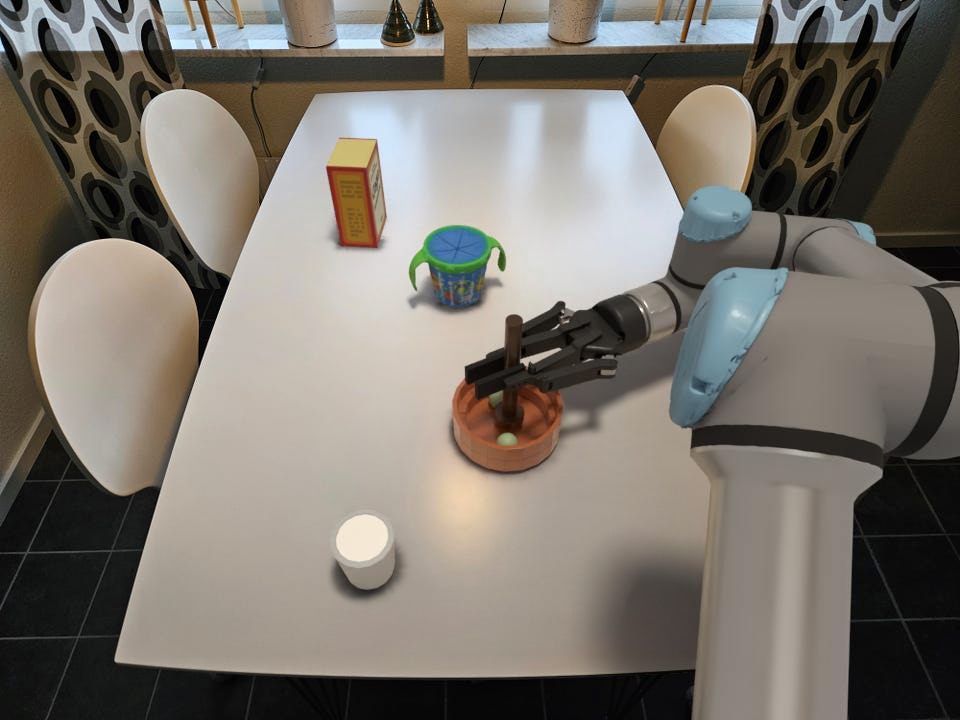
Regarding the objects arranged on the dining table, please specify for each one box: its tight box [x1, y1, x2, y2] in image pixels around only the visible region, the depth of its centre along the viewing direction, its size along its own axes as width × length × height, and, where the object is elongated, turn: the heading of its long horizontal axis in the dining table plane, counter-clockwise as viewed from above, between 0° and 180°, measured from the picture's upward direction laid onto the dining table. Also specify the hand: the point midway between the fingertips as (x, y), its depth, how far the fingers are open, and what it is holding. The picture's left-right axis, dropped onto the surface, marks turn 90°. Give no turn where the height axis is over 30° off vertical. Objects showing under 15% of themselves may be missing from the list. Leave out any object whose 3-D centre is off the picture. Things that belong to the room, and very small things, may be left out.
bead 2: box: [496, 433, 518, 446], centre depth 83 cm, size 3×3×3 cm
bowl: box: [451, 365, 564, 472], centre depth 85 cm, size 14×14×6 cm
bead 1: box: [489, 390, 503, 408], centre depth 88 cm, size 3×3×3 cm
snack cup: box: [408, 224, 507, 309], centre depth 102 cm, size 16×10×10 cm
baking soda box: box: [325, 137, 388, 249], centre depth 112 cm, size 10×6×16 cm
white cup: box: [329, 508, 396, 591], centre depth 72 cm, size 7×7×7 cm
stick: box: [494, 313, 525, 429], centre depth 80 cm, size 4×4×18 cm
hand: (471, 383), depth 77 cm, fingers closed on stick, 2 cm apart
